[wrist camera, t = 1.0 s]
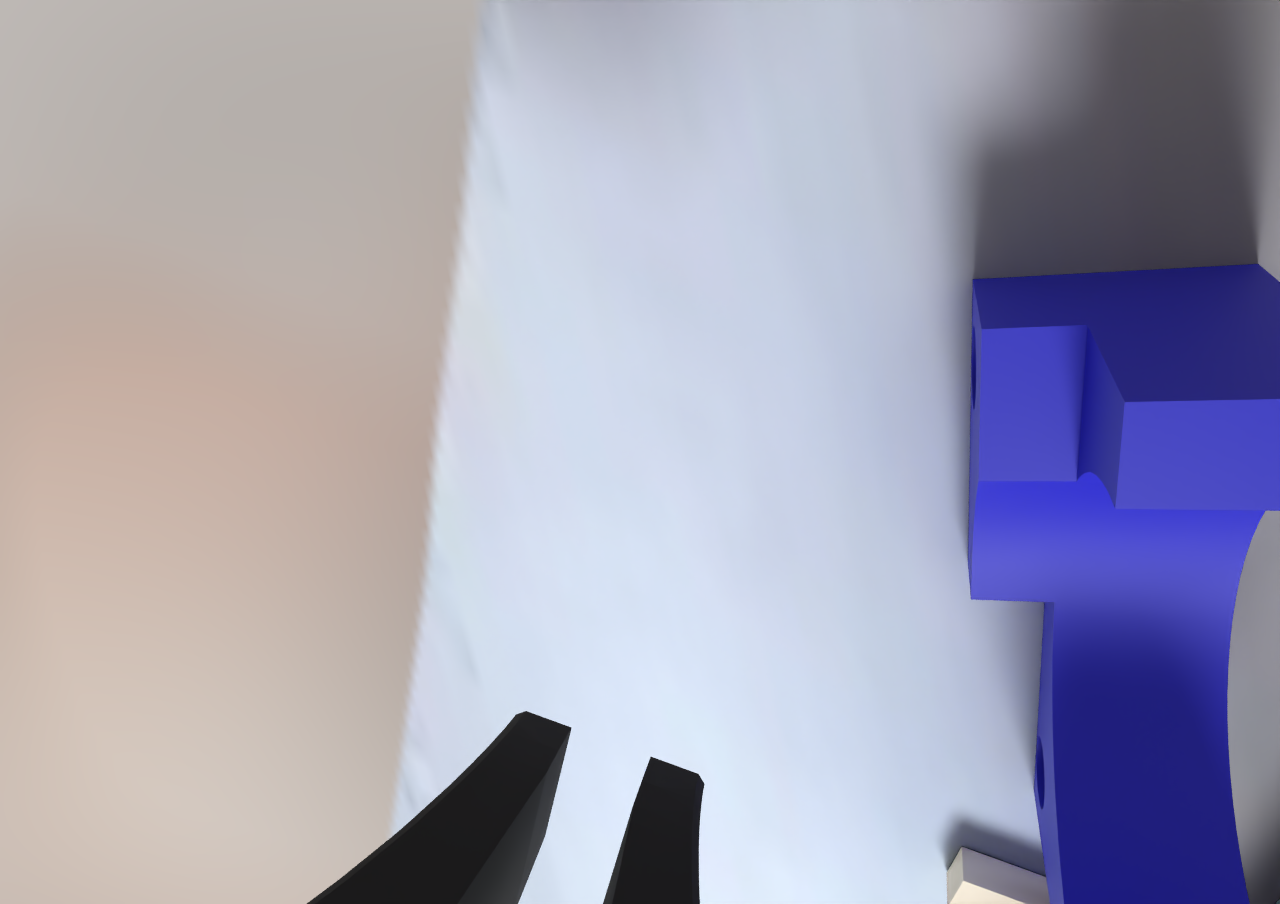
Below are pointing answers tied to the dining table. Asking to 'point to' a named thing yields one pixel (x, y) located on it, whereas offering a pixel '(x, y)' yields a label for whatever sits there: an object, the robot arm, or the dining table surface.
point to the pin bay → (993, 882)
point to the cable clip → (1127, 552)
